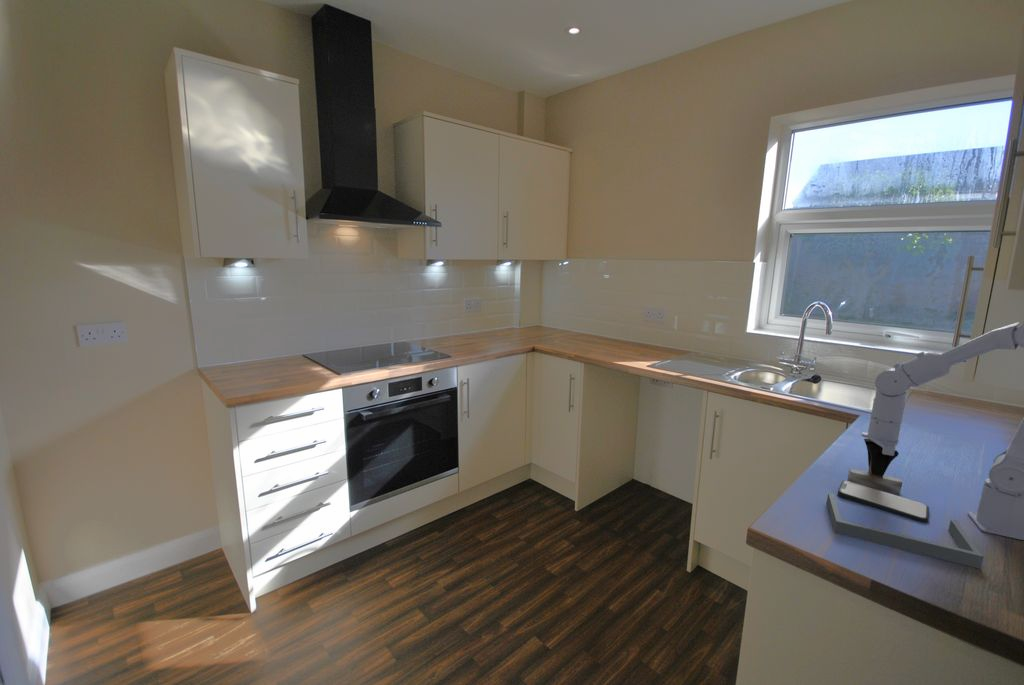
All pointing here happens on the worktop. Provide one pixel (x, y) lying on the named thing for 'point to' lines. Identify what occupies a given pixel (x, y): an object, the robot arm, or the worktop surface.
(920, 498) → the worktop surface
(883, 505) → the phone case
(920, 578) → the worktop surface
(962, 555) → the dock
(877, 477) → the scraper
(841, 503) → the worktop surface
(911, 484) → the worktop surface
